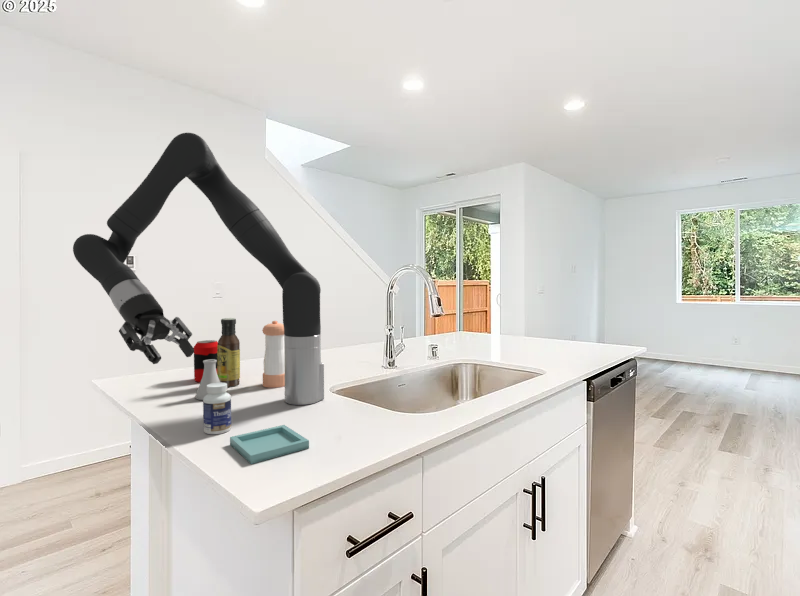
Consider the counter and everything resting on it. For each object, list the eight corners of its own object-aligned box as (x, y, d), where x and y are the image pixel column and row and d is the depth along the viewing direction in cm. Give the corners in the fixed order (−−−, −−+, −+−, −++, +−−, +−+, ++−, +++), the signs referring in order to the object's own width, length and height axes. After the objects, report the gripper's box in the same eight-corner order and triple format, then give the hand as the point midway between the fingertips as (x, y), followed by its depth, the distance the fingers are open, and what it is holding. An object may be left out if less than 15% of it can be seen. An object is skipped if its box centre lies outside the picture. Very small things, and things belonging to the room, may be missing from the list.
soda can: (204, 383, 129) (203, 344, 129) (189, 380, 133) (188, 342, 132) (226, 378, 136) (225, 341, 135) (210, 375, 139) (210, 339, 139)
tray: (284, 431, 89) (284, 424, 89) (309, 448, 81) (308, 440, 81) (230, 444, 83) (230, 437, 82) (251, 464, 74) (250, 455, 74)
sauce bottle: (214, 384, 128) (213, 318, 127) (235, 381, 132) (234, 317, 131) (222, 389, 123) (221, 319, 122) (243, 385, 127) (242, 318, 126)
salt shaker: (284, 387, 125) (283, 322, 124) (259, 387, 125) (258, 322, 124) (290, 381, 132) (290, 319, 131) (267, 381, 132) (266, 319, 131)
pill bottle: (214, 437, 86) (213, 389, 86) (198, 431, 89) (197, 385, 89) (237, 429, 91) (236, 383, 91) (221, 424, 94) (220, 380, 93)
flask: (231, 395, 117) (230, 359, 116) (209, 402, 110) (208, 364, 110) (211, 392, 120) (211, 356, 119) (189, 399, 113) (188, 361, 113)
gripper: (113, 293, 89) (154, 351, 86) (171, 291, 103) (209, 341, 99) (96, 318, 92) (136, 375, 88) (155, 312, 105) (192, 363, 101)
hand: (175, 357), depth 94 cm, fingers open, 8 cm apart
